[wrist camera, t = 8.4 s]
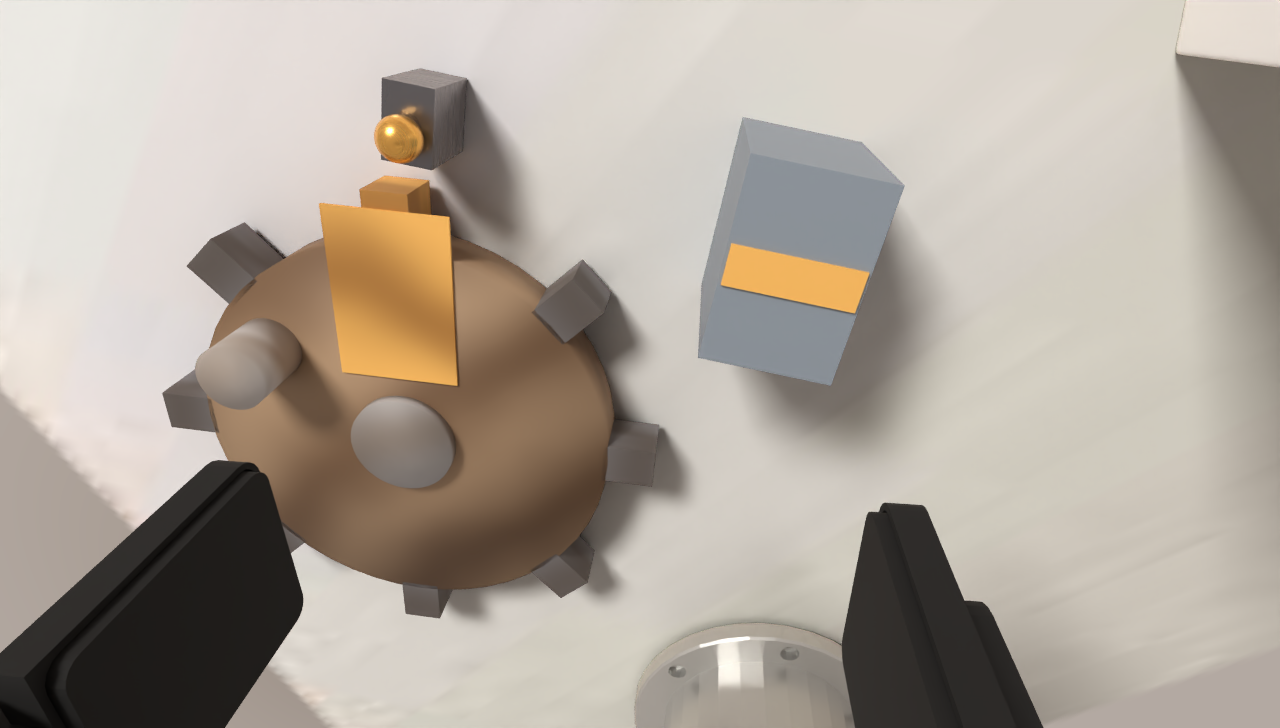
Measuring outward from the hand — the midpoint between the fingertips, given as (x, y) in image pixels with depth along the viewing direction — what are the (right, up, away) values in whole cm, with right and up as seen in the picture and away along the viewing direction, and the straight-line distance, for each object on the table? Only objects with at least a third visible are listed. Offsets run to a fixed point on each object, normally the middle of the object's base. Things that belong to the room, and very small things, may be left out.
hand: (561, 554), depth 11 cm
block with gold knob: (-6, +12, +13) cm, 18 cm away
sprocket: (-8, +1, +19) cm, 20 cm away
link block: (+6, +8, +14) cm, 17 cm away
